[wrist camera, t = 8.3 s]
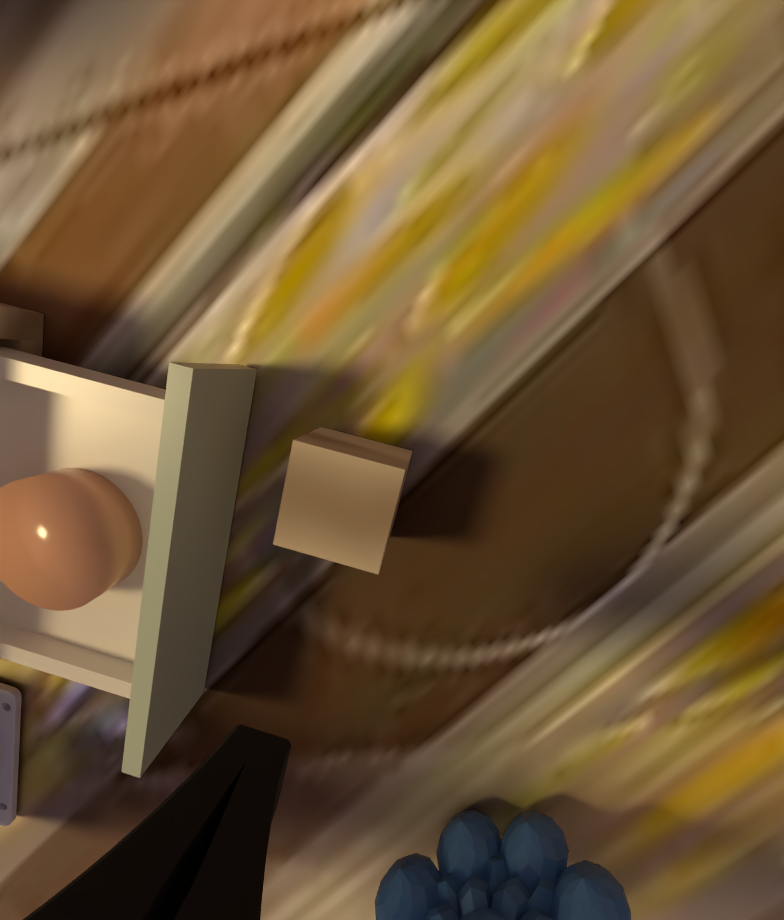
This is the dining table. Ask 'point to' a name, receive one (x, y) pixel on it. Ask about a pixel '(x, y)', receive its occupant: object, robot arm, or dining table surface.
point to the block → (341, 497)
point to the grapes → (500, 877)
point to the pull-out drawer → (161, 518)
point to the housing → (21, 329)
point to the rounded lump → (66, 537)
